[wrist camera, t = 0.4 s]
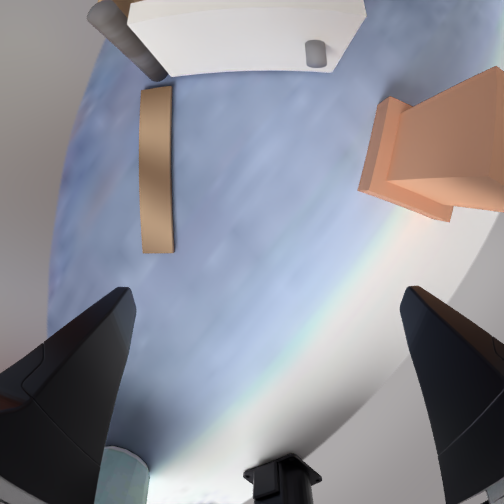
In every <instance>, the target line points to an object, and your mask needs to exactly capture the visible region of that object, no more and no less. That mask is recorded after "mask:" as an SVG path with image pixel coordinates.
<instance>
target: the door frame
mask: <svg viewBox="0 0 504 504" xmlns="http://www.w3.org/2000/svg"><path fill="white" fill-rule="evenodd" d="M139 1H143V0H98V3H97V4H95V5H94V6H93V7H92V8H91V9H90V11H89V12H88V15H87V20H88V22H89V23H90V24H91V25H93V26H94V27H95V28H96V29H97V30H98V31H99V32H100V33H102V34H103V35H104V36H105V37H106V38H107V39H108V40H109V41H110V42H111V43H112V44H114V45H115V46H116V47H117V48H118V49H119V50H120V51H121V52H122V53H123V54H124V55H125V56H127V57H128V58H129V59H130V60H131V61H132V62H133V63H134V64H135V65H136V66H137V67H138V68H139V69H140V70H141V71H142V72H143V73H145V74H146V75H147V76H148V77H149V78H150V79H151V80H152V81H155V82H158V81H161V80H163V79H164V78H165V77H166V76H167V74H168V72H167V71H166V70H165V69H164V67H163V66H162V65H161V64H160V63H159V61H158V60H157V59H156V58H155V57H154V55H153V54H152V53H151V52H150V51H149V50H148V48H147V47H146V46H145V45H144V44H143V42H142V41H141V40H140V39H139V38H138V37H137V35H136V34H135V33H134V32H133V31H132V30H131V29H130V27H129V26H128V25H127V21H128V15H129V10H130V5H131V3H135V2H139ZM171 118H172V86H166V87H159V88H152V89H146V90H141V102H140V127H139V192H140V218H141V235H142V249H143V253H174V237H173V216H172V183H171Z"/></svg>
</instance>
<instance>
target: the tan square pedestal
mask: <svg viewBox="0 0 504 504" xmlns="http://www.w3.org/2000/svg"><path fill="white" fill-rule="evenodd" d="M357 191H360V192H363V193H366V194H369V195H372V196H374V197H377V198H380V199H383V200H385V201H388V202H391V203H394V204H396V205H399V206H402V207H404V208H407V209H409V210H412V211H414V212H417V213H420V214H422V215H425V216H427V217H429V218H432V219H436V220H441V221H446V222H450V219H451V215H452V211H453V206H458V207H467V208H475V209H482V210H490V211H497V212H504V71H502V70H501V69H500V68H499V67H497V66H495V67H492V68H490V69H488V70H486V71H484V72H482V73H480V74H478V75H475V76H473V77H471V78H469V79H467V80H465V81H463V82H461V83H459V84H457V85H455V86H453V87H451V88H449V89H447V90H445V91H443V92H441V93H439V94H437V95H435V96H433V97H431V98H429V99H427V100H425V101H424V102H422V103H420V104H418V105H416V106H414V107H413V106H411V105H409V104H406V103H404V102H402V101H400V100H398V99H395V98H393V97H391V96H389V97H388V98H386V99H385V100H384V101H382V102H381V103H379V104H378V105H377V110H376V115H375V120H374V124H373V129H372V133H371V138H370V142H369V146H368V151H367V155H366V159H365V163H364V167H363V171H362V175H361V179H360V183H359V187H358V190H357Z"/></svg>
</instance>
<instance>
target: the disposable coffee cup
mask: <svg viewBox="0 0 504 504" xmlns="http://www.w3.org/2000/svg"><path fill="white" fill-rule="evenodd" d="M100 467H101V468H100V473H99V479H98V484H97V490H96V496H95V502H94V504H146V502H147V494H148V487H149V479H150V476H149V471H148V467H147V464H146V463H145V462H144V461H143V460H142V459H140V458H139V457H138V456H137V455H135V454H133V453H131V452H130V451H128V450H126V449H123V448H119V447H115V446H108V447H105V448H104V452H103V457H102V462H101V466H100Z"/></svg>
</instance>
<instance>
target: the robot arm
mask: <svg viewBox="0 0 504 504" xmlns="http://www.w3.org/2000/svg"><path fill="white" fill-rule="evenodd" d="M400 314H401V318H402V322H403V326H404V330H405V335H406V339H407V344H408V347H409V351H410V354H411V358H412V361H413V364H414V367H415V370H416V373H417V376H418V380H419V383H420V387H421V390H422V394H423V397H424V401H425V404H426V408H427V411H428V416H429V420H430V423H431V428H432V432H433V436H434V440H435V445H436V450H437V454H438V460H439V465H440V470H441V476H442V481H443V487H444V493H445V500H446V504H460V503H462V502H464V501H466V500H469V499H471V498H472V497H474V496H476V495H478V494H480V493H482V492H484V491H486V494H487V498H488V500H487V501H485V502H483V503H481V504H504V344H503V343H501V342H500V341H499V340H497V339H496V338H494V337H492V336H491V335H490V334H489V333H487V332H486V331H485V330H483V329H482V328H480V327H479V326H477V325H476V324H475V323H473V322H472V321H470V320H469V319H467V318H466V317H464V316H463V315H461V314H460V313H459V312H457V311H455V310H454V309H453V308H451V307H450V306H448V305H447V304H445V303H444V302H442V301H441V300H439V299H438V298H436V297H435V296H433V295H432V294H430V293H429V292H427V291H426V290H424V289H423V288H421V287H419V286H409V287H407V288H406V290H405V293H404V296H403V299H402V302H401V305H400ZM135 317H136V305H135V302H134V298H133V295H132V291H131V289H130V288H129V287H117V288H115V289H114V290H113V291H111V292H110V293H109V294H107V295H106V296H104V297H103V298H102V299H100V300H99V301H98V302H96V303H95V304H93V305H92V306H91V307H89V308H88V309H87V310H85V311H84V312H83V313H81V314H80V315H79V316H77V317H76V318H75V319H73V320H72V321H71V322H69V323H68V324H67V325H65V326H64V327H63V328H61V329H60V330H59V331H57V332H56V333H55V334H53V335H52V336H51V337H50V338H48V339H47V340H46V341H44V343H42V344H41V345H39V346H38V347H37V348H35V349H34V350H33V351H31V352H30V353H29V354H28V355H26V356H25V357H24V358H22V359H21V360H19V361H18V362H16V363H15V364H14V365H12V366H11V367H9V368H8V369H6V370H5V371H3V372H2V373H0V504H94V502H95V496H96V490H97V484H98V479H99V473H100V468H101V467H100V466H101V462H102V457H103V452H104V448H105V443H106V438H107V434H108V430H109V425H110V421H111V417H112V413H113V409H114V405H115V401H116V397H117V393H118V390H119V386H120V382H121V379H122V375H123V372H124V368H125V365H126V361H127V357H128V354H129V349H130V344H131V338H132V332H133V327H134V322H135ZM243 477H244V478H245V479H246V480H248V481H249V482H250V483H252V484H253V499H254V504H313V498H312V489H311V486H312V485H314V484H316V483H319V482H321V481H322V477H321V476H320V475H319V474H318V473H317V472H315V471H314V470H313V469H312V468H311V467H309V466H308V465H307V464H306V463H305V462H303V460H301V459H300V458H299V457H298V456H297V455H295V454H289V455H287V456H284V457H282V458H280V459H277V460H275V461H272V462H270V463H267V464H265V465H262V466H260V467H257V468H255V469H252V470H249V471H246V472H244V473H243Z"/></svg>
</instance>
